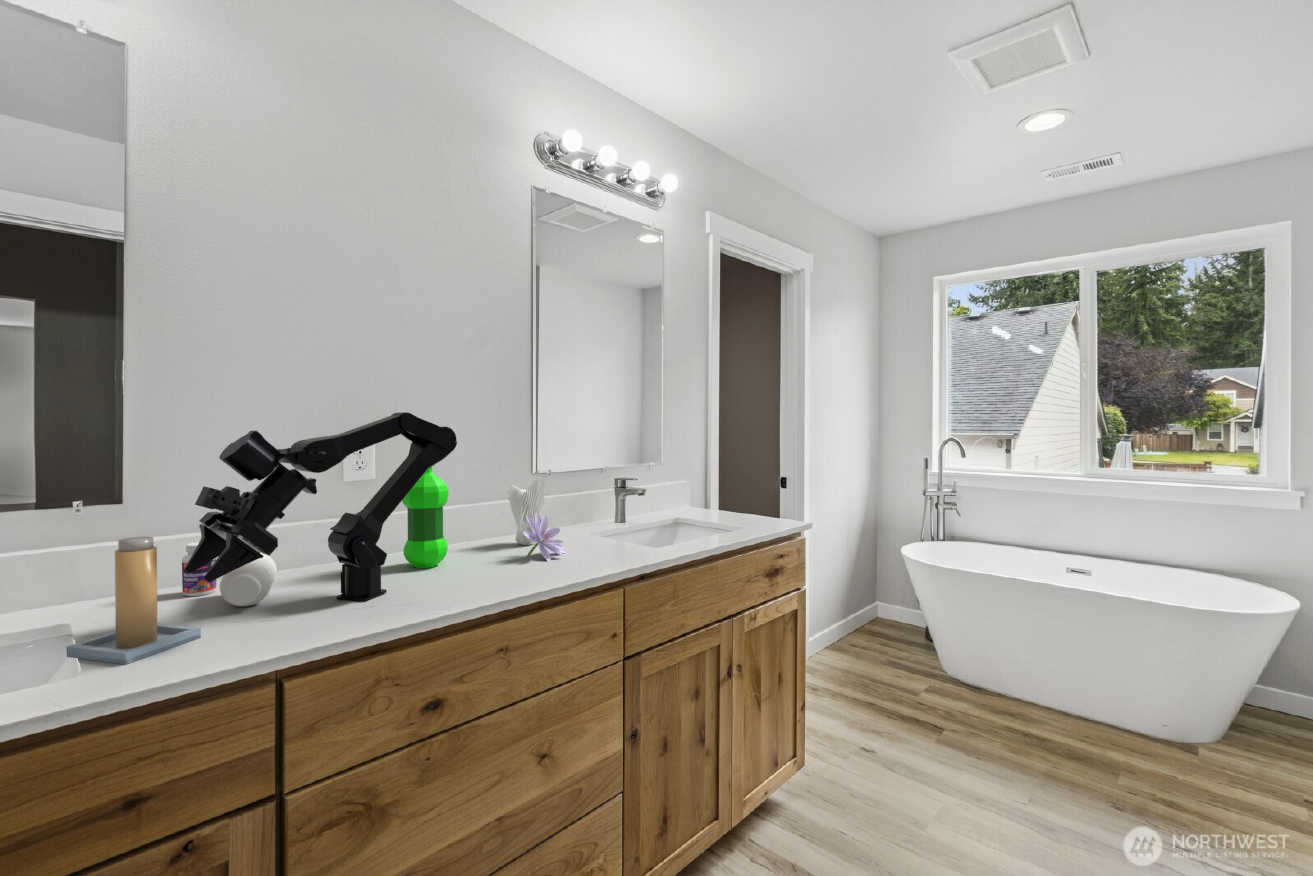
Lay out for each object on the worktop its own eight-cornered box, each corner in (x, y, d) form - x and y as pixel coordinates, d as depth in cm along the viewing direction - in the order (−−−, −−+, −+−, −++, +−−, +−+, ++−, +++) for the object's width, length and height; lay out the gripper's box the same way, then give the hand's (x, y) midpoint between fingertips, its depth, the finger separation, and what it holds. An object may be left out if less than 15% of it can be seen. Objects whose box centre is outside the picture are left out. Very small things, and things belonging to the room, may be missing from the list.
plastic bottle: (455, 566, 144) (454, 458, 143) (407, 573, 138) (406, 459, 137) (443, 558, 152) (442, 455, 151) (397, 564, 146) (396, 457, 146)
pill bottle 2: (251, 600, 123) (238, 622, 110) (219, 571, 121) (202, 590, 107) (287, 571, 126) (279, 590, 112) (257, 542, 123) (245, 558, 110)
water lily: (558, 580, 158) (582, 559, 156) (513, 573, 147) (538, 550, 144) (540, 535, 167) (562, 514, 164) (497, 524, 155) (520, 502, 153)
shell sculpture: (505, 544, 169) (504, 478, 168) (529, 540, 175) (529, 476, 175) (524, 548, 164) (524, 480, 163) (548, 544, 170) (548, 477, 169)
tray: (200, 637, 98) (200, 627, 97) (125, 664, 87) (125, 653, 87) (146, 631, 100) (146, 622, 100) (66, 657, 90) (66, 646, 89)
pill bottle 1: (178, 598, 119) (177, 547, 118) (186, 591, 123) (185, 542, 123) (213, 595, 121) (211, 545, 120) (219, 588, 126) (218, 539, 125)
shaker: (164, 636, 96) (163, 536, 96) (144, 647, 92) (143, 542, 91) (129, 637, 96) (128, 536, 95) (107, 649, 91) (106, 542, 90)
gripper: (211, 465, 108) (133, 538, 100) (253, 470, 97) (168, 555, 89) (263, 504, 115) (194, 577, 107) (308, 514, 103) (234, 596, 95)
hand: (196, 575), depth 99 cm, fingers open, 9 cm apart
